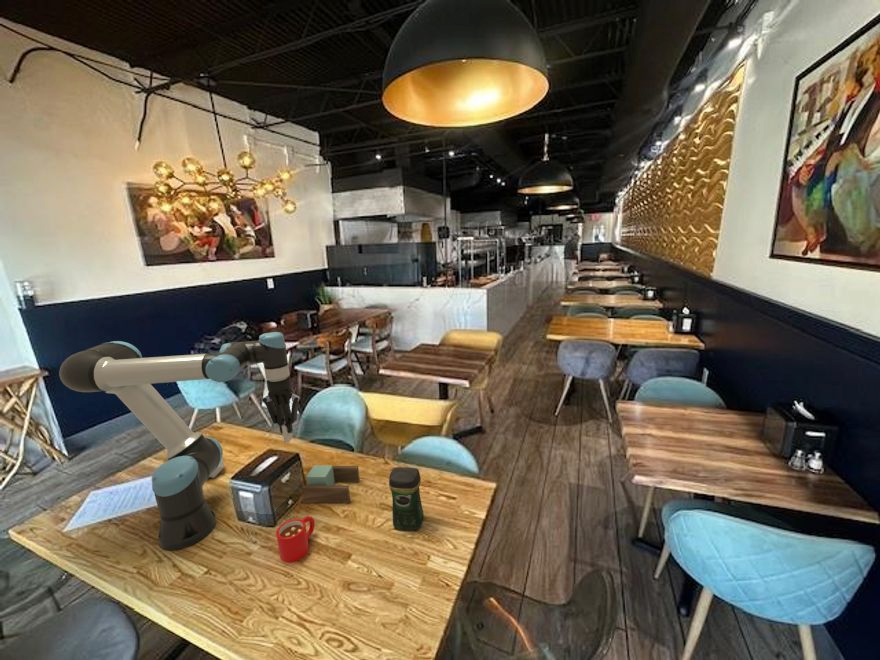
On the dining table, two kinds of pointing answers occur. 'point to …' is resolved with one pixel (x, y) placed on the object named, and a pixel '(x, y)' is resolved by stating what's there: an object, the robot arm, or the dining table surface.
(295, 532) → the mug
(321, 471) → the block
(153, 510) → the dining table surface
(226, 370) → the robot arm
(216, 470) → the die
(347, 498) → the dark wooden parallel walls
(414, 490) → the coffee jar
